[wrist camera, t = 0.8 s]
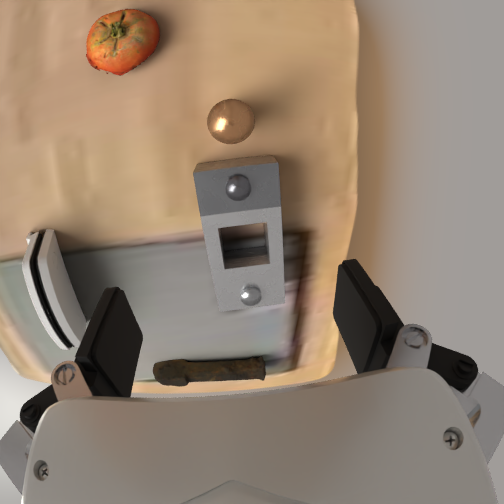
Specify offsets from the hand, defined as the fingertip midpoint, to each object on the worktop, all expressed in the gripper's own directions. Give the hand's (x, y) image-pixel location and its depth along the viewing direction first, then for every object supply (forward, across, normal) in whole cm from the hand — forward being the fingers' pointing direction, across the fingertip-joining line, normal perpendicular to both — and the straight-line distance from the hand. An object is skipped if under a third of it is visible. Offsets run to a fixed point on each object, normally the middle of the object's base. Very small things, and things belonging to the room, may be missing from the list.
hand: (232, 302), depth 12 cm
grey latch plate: (+21, -1, +7) cm, 22 cm away
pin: (+21, -1, -6) cm, 22 cm away
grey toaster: (+21, +26, +11) cm, 35 cm away
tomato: (+21, +9, -17) cm, 29 cm away
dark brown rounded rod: (+21, +7, +31) cm, 38 cm away
